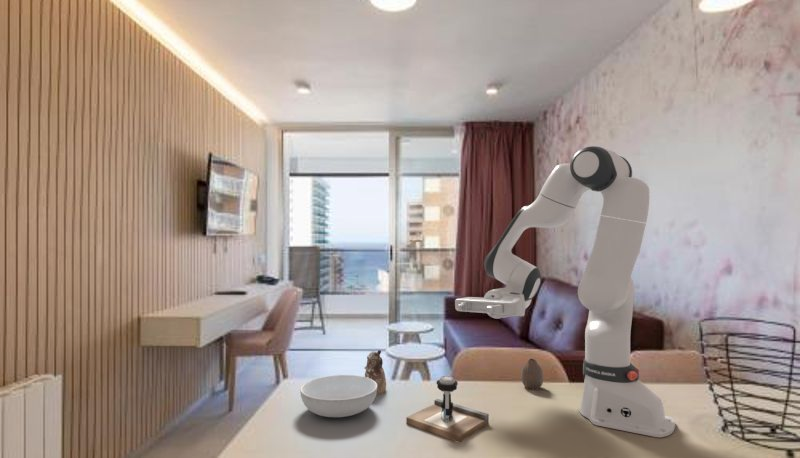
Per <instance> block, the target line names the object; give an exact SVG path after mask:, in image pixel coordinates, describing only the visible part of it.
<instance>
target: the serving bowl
mask: <svg viewBox="0 0 800 458" xmlns="http://www.w3.org/2000/svg"><path fill="white" fill-rule="evenodd" d="M299 391H300V398H301V401H302V402H303V405H304V406H305V408H306V409H307V410H309V412H311V413H313V414H316V416H317V415H318V416H320V417H326V418H345V417H351V416H355V415H358V414H360V413H362V412H364V411H365V410H367V409H368V408H369V407H370V406H371V405H372V404H373V402H374V401H375V398H376V396H377V394H376V393H377V383H376V382H375V381H374V380H372V379H369V378H366V377H365V376H362V375H354V374H336V375H327V376H321V377H319V378H318V377H317V378H314V379H311V380H308V381H307V382H305V383H304V384H303V385H301V386H300V389H299Z"/></svg>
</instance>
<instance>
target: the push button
mask: <svg viewBox="0 0 800 458" xmlns="http://www.w3.org/2000/svg"><path fill="white" fill-rule="evenodd" d="M458 384H459V383H458V381H457V380H455V378H454V377H453V376H448V375H445V376H440V377H439V379H438V380H436V385H437V389H438V390H439V391H441V392H442V393H443V394H442V400H443V402H441V408H442V410H441V412H443V411H444V421H446V422H449V421H450V417H452V413H453V411H452V409H453V404H454V403H453V402H452V392H454V391H456V390H457V389H458Z"/></svg>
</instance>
